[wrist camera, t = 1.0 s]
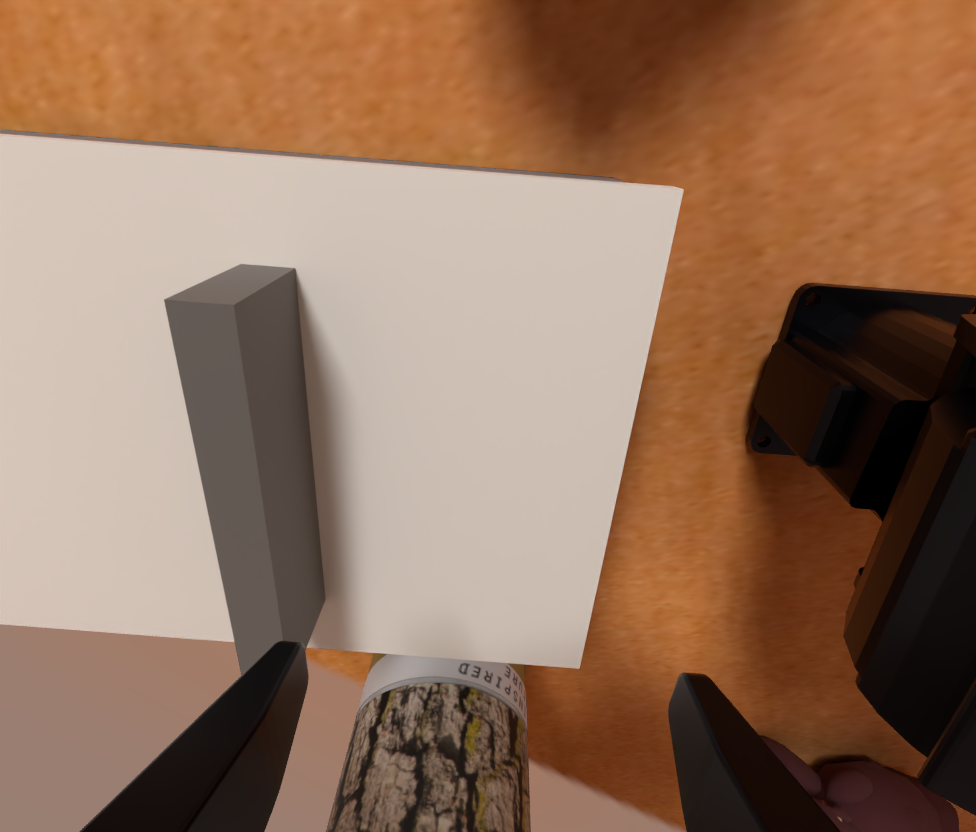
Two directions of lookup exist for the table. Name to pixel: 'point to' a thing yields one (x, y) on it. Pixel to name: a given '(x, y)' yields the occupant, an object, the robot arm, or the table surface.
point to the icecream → (870, 796)
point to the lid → (316, 397)
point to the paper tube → (437, 749)
